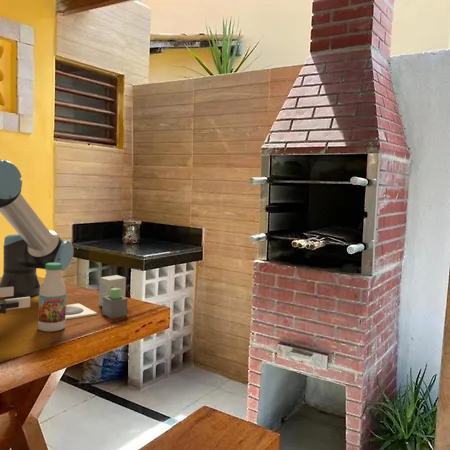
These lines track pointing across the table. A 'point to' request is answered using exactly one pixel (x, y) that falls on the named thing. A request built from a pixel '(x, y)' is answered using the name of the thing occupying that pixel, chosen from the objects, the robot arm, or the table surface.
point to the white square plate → (77, 311)
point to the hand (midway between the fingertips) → (21, 296)
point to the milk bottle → (52, 300)
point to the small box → (111, 286)
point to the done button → (115, 293)
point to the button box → (114, 307)
